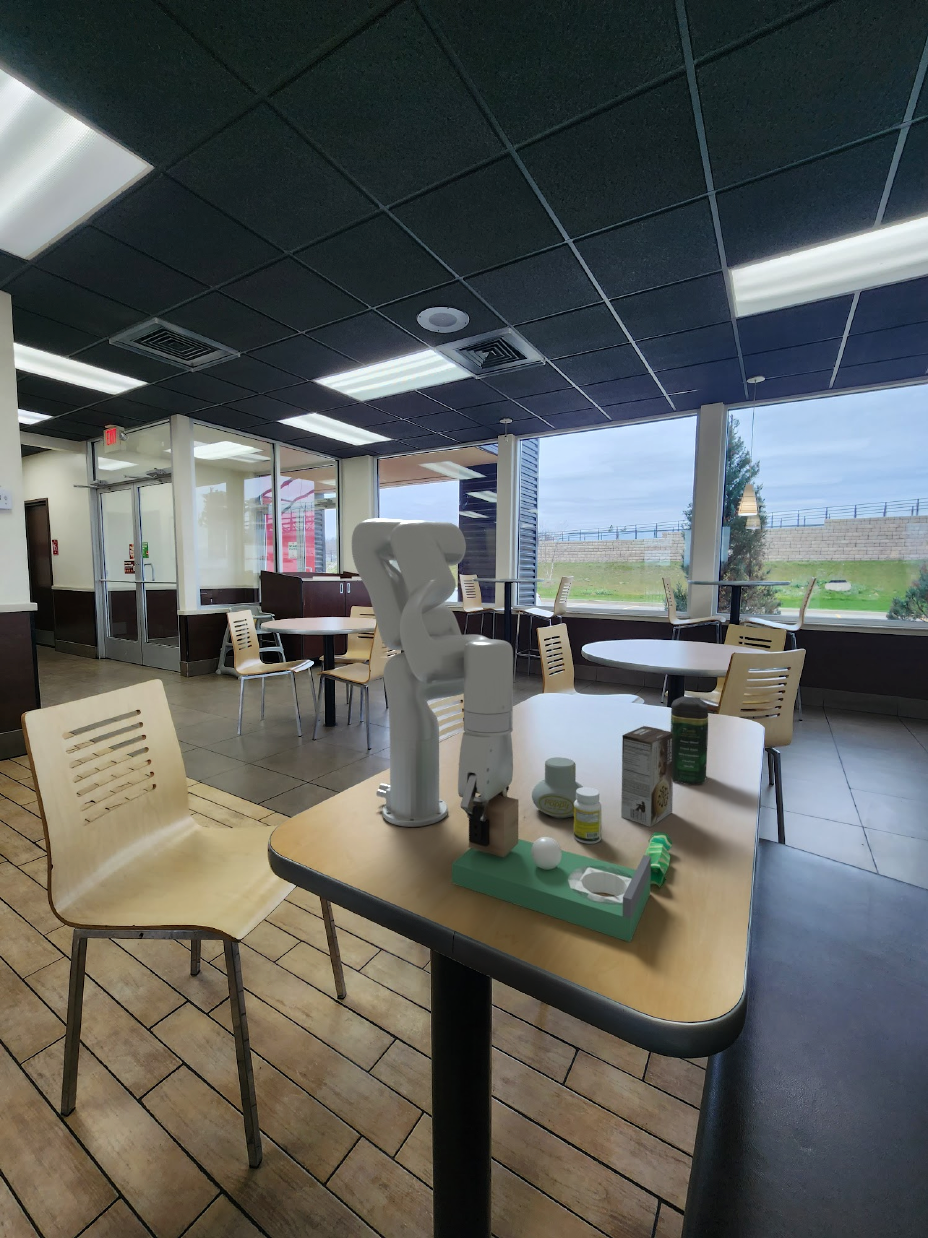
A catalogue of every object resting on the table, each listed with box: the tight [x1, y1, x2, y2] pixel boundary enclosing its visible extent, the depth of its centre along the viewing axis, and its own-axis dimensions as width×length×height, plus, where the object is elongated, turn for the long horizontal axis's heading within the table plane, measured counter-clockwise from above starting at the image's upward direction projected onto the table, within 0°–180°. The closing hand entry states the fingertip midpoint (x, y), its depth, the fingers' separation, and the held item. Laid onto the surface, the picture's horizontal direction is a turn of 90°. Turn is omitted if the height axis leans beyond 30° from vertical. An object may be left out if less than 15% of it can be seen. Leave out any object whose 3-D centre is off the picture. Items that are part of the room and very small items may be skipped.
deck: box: [451, 838, 651, 943], centre depth 77 cm, size 26×12×6 cm, turn 60°
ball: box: [531, 836, 562, 870], centre depth 77 cm, size 4×4×4 cm
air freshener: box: [531, 756, 584, 819], centre depth 104 cm, size 11×8×10 cm
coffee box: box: [620, 725, 674, 828], centre depth 102 cm, size 9×6×16 cm
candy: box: [644, 832, 673, 889], centre depth 83 cm, size 12×3×4 cm
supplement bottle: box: [573, 786, 602, 845], centre depth 93 cm, size 5×5×8 cm
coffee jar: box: [670, 695, 709, 785], centre depth 121 cm, size 10×8×19 cm
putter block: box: [468, 794, 519, 857], centre depth 82 cm, size 6×5×7 cm
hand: (488, 834), depth 82 cm, fingers closed on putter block, 5 cm apart
